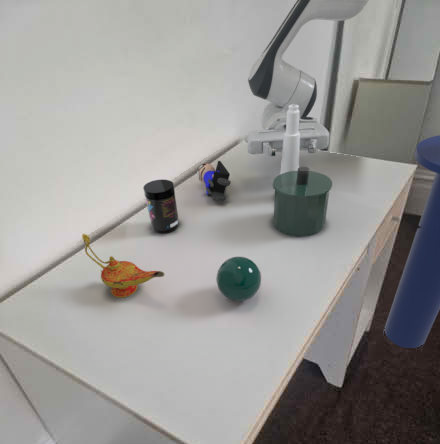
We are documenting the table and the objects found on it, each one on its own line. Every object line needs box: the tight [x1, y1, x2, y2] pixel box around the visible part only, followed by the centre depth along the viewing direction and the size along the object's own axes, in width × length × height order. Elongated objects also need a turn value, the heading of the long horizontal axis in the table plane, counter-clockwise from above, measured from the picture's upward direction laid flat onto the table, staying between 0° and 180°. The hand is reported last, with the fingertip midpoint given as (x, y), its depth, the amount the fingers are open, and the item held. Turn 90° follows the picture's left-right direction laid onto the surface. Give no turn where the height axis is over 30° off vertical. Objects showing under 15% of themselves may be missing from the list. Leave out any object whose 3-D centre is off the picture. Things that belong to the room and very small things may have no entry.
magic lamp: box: [81, 233, 165, 299], centre depth 68 cm, size 7×18×11 cm, turn 63°
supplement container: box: [142, 179, 180, 234], centre depth 85 cm, size 7×7×10 cm
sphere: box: [215, 256, 262, 302], centre depth 66 cm, size 8×8×8 cm
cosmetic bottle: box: [279, 104, 300, 175], centre depth 89 cm, size 6×6×22 cm
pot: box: [273, 189, 330, 237], centre depth 83 cm, size 12×12×10 cm
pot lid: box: [272, 166, 333, 198], centre depth 79 cm, size 13×13×4 cm
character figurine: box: [196, 160, 232, 202], centre depth 98 cm, size 8×7×15 cm
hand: (292, 151), depth 87 cm, fingers open, 8 cm apart
